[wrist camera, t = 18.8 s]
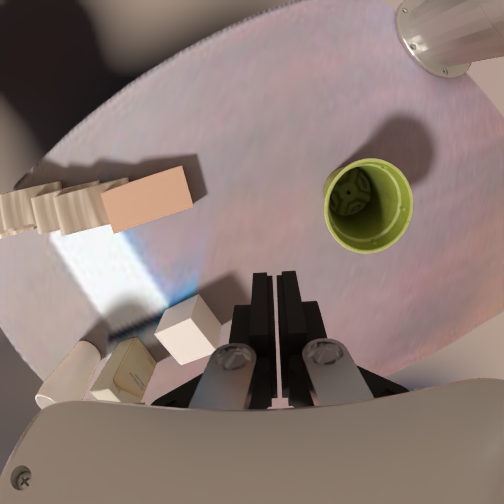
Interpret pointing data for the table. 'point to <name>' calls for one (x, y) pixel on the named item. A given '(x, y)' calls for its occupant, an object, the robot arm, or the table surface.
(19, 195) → the domino
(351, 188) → the plant pot
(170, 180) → the domino
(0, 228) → the domino
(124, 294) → the table surface
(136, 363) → the skincare box
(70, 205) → the domino
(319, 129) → the table surface
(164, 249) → the table surface
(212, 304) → the table surface
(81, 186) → the domino
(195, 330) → the white cube
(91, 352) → the drinking glass
